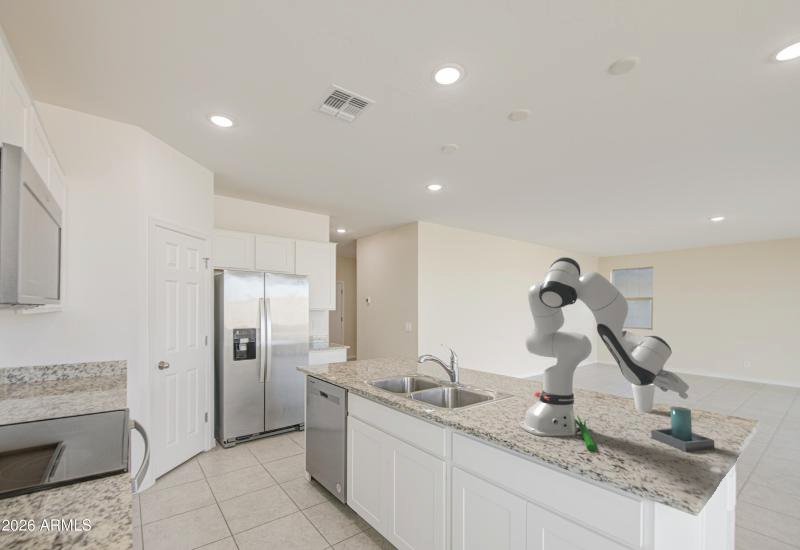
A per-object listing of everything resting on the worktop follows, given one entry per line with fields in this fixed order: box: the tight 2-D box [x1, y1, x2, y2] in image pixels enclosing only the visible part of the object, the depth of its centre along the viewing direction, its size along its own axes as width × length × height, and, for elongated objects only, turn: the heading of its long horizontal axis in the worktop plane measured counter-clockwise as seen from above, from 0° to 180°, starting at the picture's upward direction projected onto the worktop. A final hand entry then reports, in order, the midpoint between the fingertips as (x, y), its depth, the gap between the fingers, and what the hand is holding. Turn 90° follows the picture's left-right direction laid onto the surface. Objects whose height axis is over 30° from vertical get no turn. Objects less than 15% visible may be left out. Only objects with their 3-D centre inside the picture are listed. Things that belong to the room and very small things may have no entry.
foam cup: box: [630, 382, 656, 413], centre depth 173 cm, size 10×9×13 cm
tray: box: [650, 427, 715, 453], centre depth 134 cm, size 13×13×3 cm
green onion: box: [575, 414, 597, 452], centre depth 140 cm, size 5×3×30 cm
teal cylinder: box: [669, 406, 693, 442], centre depth 134 cm, size 6×6×11 cm
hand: (675, 393), depth 136 cm, fingers open, 8 cm apart
